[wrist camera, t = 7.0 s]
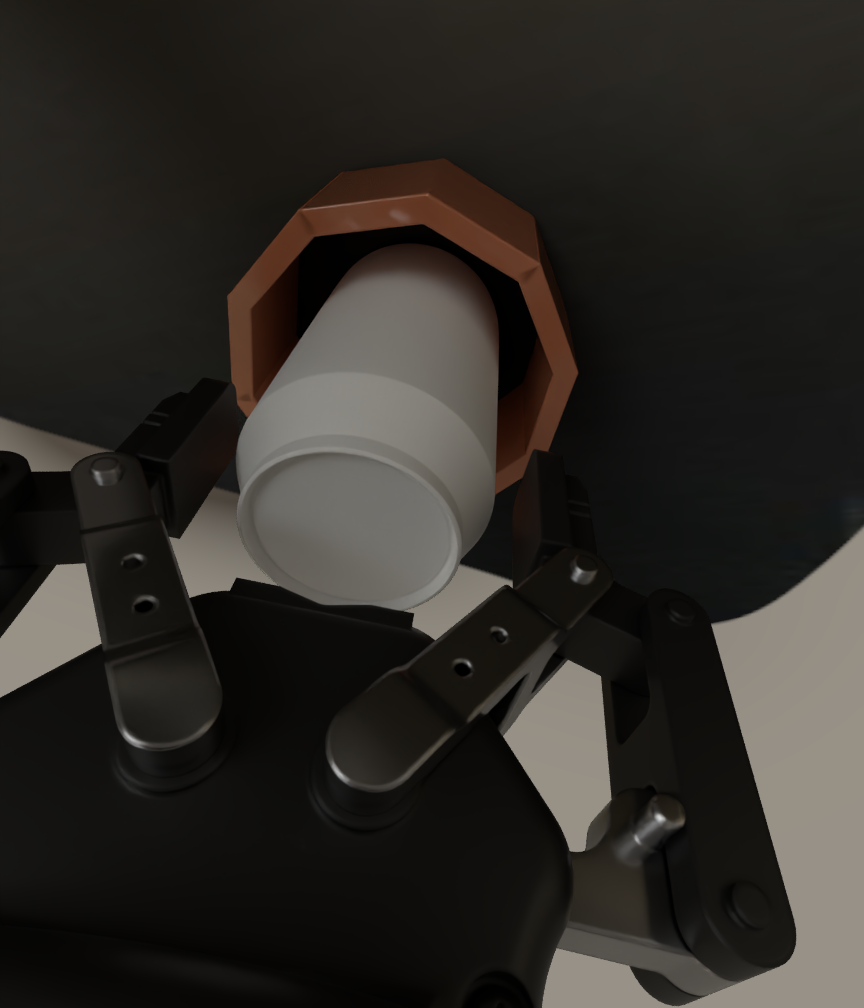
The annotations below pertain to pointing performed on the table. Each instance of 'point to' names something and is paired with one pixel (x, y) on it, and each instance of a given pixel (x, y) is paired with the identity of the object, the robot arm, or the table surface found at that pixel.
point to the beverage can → (377, 436)
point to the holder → (460, 218)
